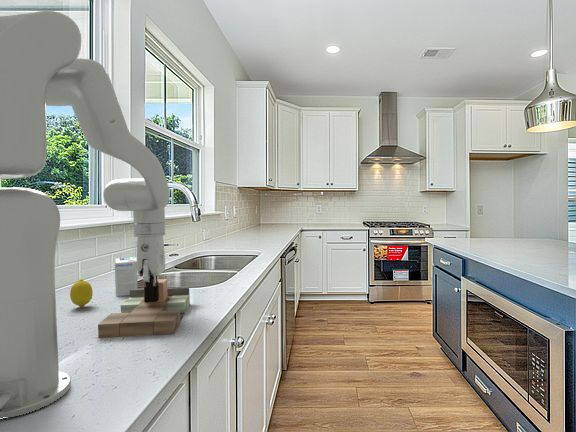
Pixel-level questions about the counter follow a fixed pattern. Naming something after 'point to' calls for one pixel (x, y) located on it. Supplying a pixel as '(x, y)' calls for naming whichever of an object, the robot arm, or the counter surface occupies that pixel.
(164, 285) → the block
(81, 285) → the lemon
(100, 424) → the counter surface
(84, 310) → the counter surface
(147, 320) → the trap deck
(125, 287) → the light bulb box
